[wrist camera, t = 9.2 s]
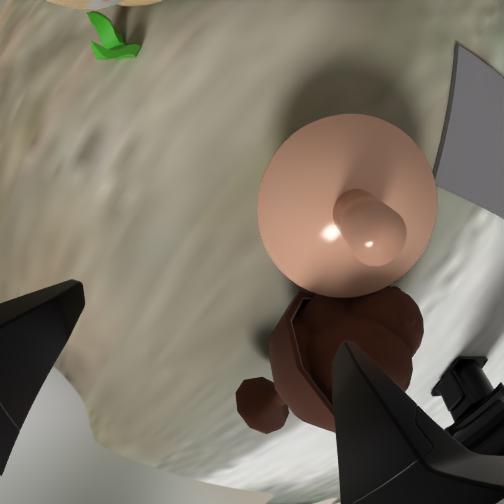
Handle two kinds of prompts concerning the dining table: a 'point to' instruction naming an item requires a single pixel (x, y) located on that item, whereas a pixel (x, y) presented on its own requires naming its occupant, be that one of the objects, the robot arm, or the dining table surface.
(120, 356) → the dining table surface
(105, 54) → the kitten
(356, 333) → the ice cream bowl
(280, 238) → the lid
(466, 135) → the mat
